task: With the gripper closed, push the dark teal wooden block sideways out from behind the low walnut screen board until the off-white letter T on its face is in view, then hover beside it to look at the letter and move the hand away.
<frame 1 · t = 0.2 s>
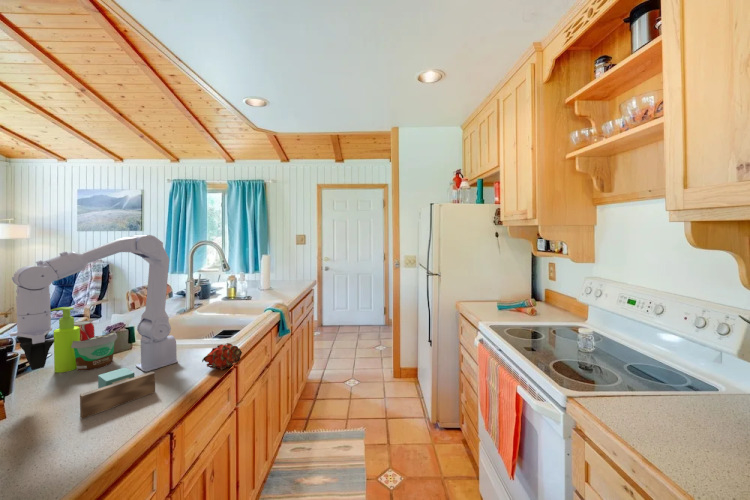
hand: (35, 364, 77), 10 cm above the worktop, tool pointing down, fingers open, 7 cm apart
soap dispenser: (66, 369, 97), on the worktop
walnut screen: (120, 403, 78), on the worktop
food container: (100, 366, 99), on the worktop
dragon fruit: (222, 368, 100), on the worktop
soda can: (81, 356, 107), on the worktop
lettered block: (116, 395, 82), on the worktop
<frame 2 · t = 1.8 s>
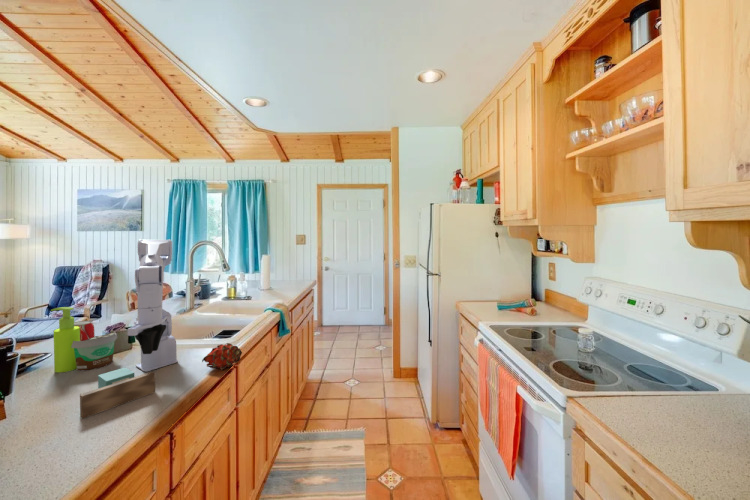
hand: (150, 352, 88), 9 cm above the worktop, tool pointing down, fingers closed
nothing on the worktop moved.
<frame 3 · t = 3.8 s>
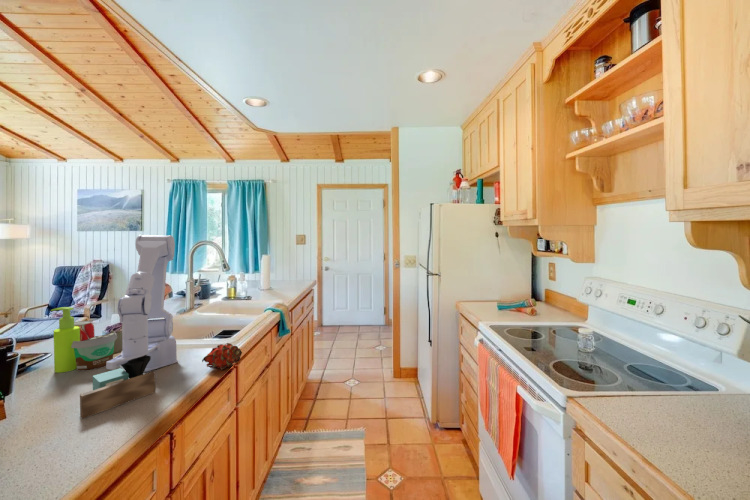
hand: (135, 383, 85), 1 cm above the worktop, tool pointing down, fingers closed
lettered block: (111, 396, 81), on the worktop, touching gripper
everything else where it was.
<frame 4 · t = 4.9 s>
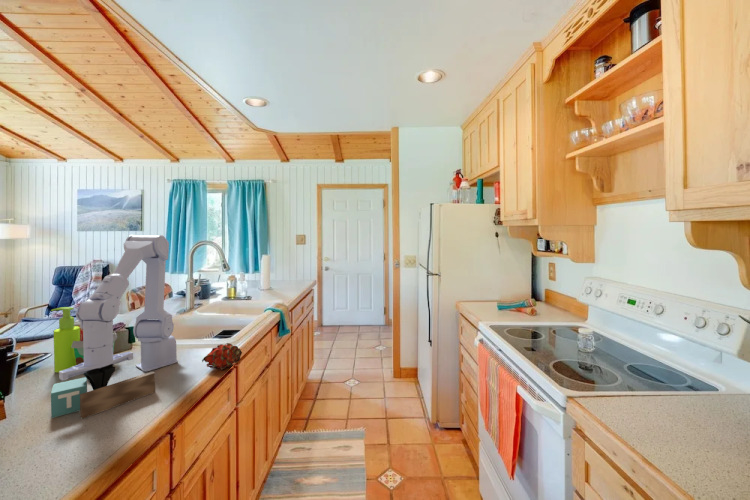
hand: (99, 395, 78), 1 cm above the worktop, tool pointing down, fingers closed
lettered block: (70, 408, 75), on the worktop, touching gripper
everything else where it was.
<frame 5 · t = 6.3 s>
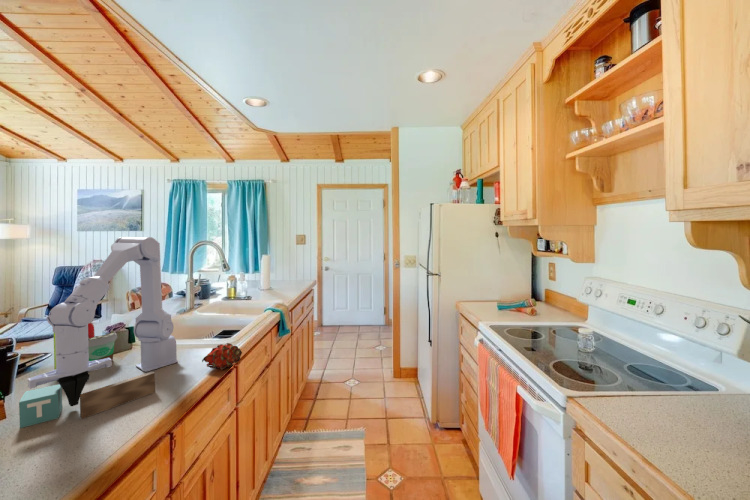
hand: (73, 404, 74), 1 cm above the worktop, tool pointing down, fingers closed
lettered block: (42, 416, 71), on the worktop, touching gripper
everything else where it was.
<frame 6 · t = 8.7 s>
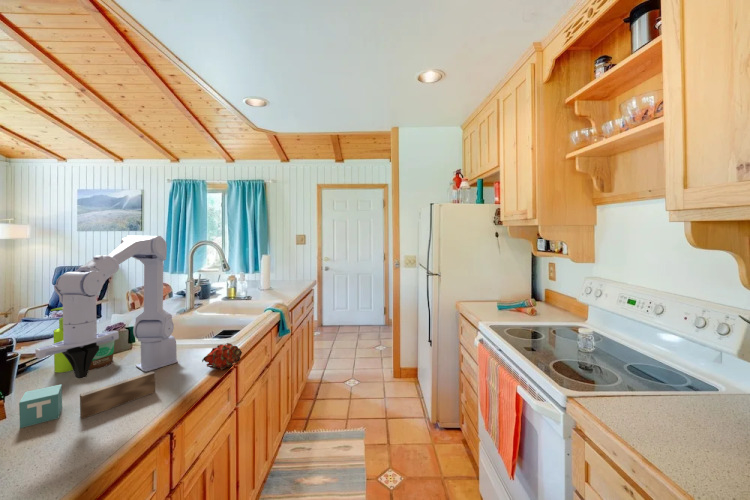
hand: (81, 376, 72), 9 cm above the worktop, tool pointing down, fingers closed
lettered block: (42, 417, 71), on the worktop
everything else where it was.
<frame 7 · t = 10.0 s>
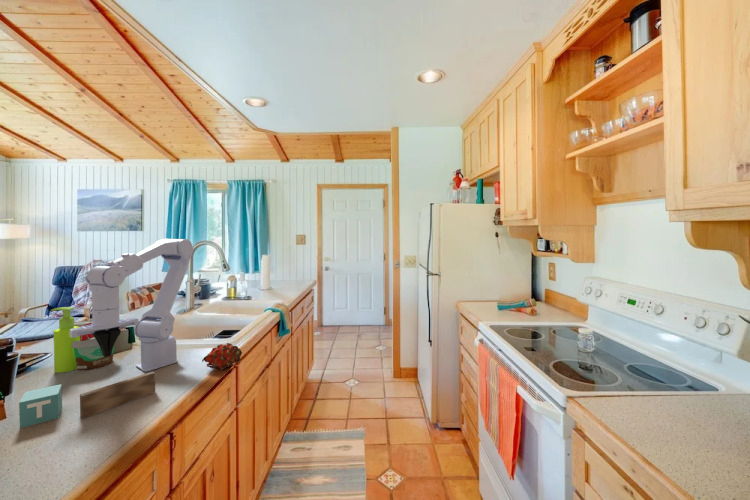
hand: (106, 355, 85), 9 cm above the worktop, tool pointing down, fingers closed
nothing on the worktop moved.
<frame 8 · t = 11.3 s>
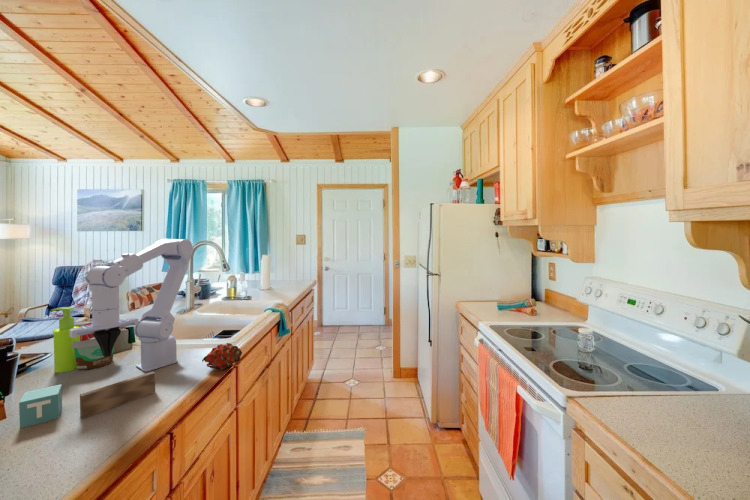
hand: (106, 355, 85), 9 cm above the worktop, tool pointing down, fingers closed
nothing on the worktop moved.
at the end: lettered block inside the target area (1.3 cm from its centre), on the worktop; lettered block tilted 0°; the gripper is holding nothing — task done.
